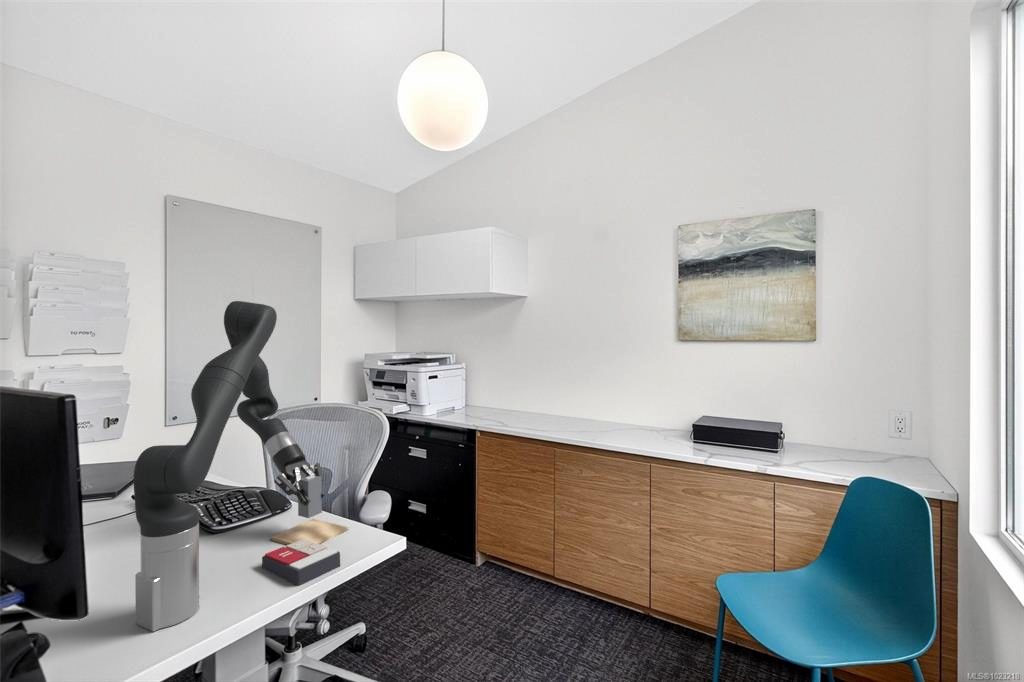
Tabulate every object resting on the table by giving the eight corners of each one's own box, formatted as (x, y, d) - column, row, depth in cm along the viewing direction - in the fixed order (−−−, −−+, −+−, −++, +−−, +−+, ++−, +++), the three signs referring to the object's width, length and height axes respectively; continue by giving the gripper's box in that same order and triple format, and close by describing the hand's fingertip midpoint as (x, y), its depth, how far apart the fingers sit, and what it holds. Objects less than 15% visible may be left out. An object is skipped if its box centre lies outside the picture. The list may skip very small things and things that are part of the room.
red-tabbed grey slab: (304, 536, 119) (340, 548, 110) (304, 553, 118) (341, 566, 110) (261, 553, 109) (297, 567, 101) (261, 571, 109) (298, 587, 101)
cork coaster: (306, 550, 118) (306, 547, 118) (270, 540, 124) (270, 537, 124) (348, 530, 131) (348, 527, 131) (313, 521, 137) (313, 518, 137)
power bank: (308, 518, 125) (308, 480, 124) (298, 515, 126) (298, 478, 126) (321, 512, 129) (321, 475, 128) (311, 510, 130) (311, 473, 130)
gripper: (268, 449, 124) (299, 501, 119) (312, 438, 137) (342, 484, 132) (255, 466, 127) (285, 517, 121) (299, 454, 139) (329, 500, 134)
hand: (315, 500), depth 127 cm, fingers closed on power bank, 4 cm apart
